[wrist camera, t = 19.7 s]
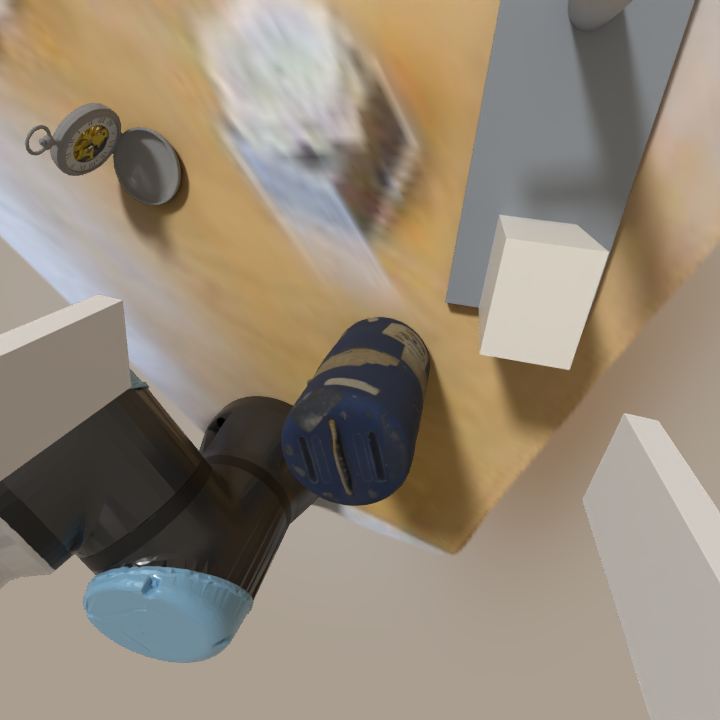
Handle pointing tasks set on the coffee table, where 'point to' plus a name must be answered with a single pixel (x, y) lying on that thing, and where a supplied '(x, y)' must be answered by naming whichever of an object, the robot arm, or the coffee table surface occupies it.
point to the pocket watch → (131, 152)
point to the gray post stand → (563, 120)
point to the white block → (538, 290)
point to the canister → (360, 414)
